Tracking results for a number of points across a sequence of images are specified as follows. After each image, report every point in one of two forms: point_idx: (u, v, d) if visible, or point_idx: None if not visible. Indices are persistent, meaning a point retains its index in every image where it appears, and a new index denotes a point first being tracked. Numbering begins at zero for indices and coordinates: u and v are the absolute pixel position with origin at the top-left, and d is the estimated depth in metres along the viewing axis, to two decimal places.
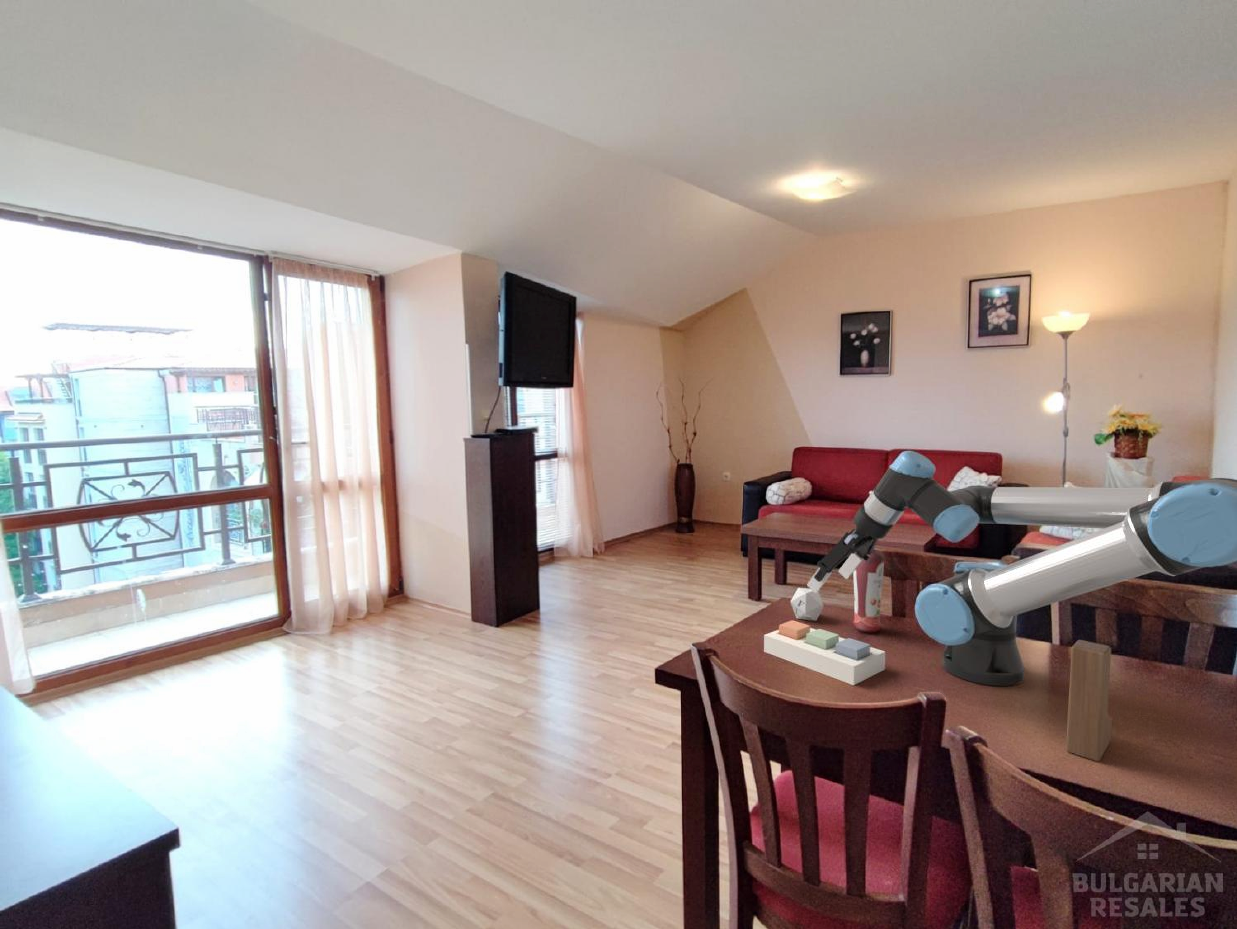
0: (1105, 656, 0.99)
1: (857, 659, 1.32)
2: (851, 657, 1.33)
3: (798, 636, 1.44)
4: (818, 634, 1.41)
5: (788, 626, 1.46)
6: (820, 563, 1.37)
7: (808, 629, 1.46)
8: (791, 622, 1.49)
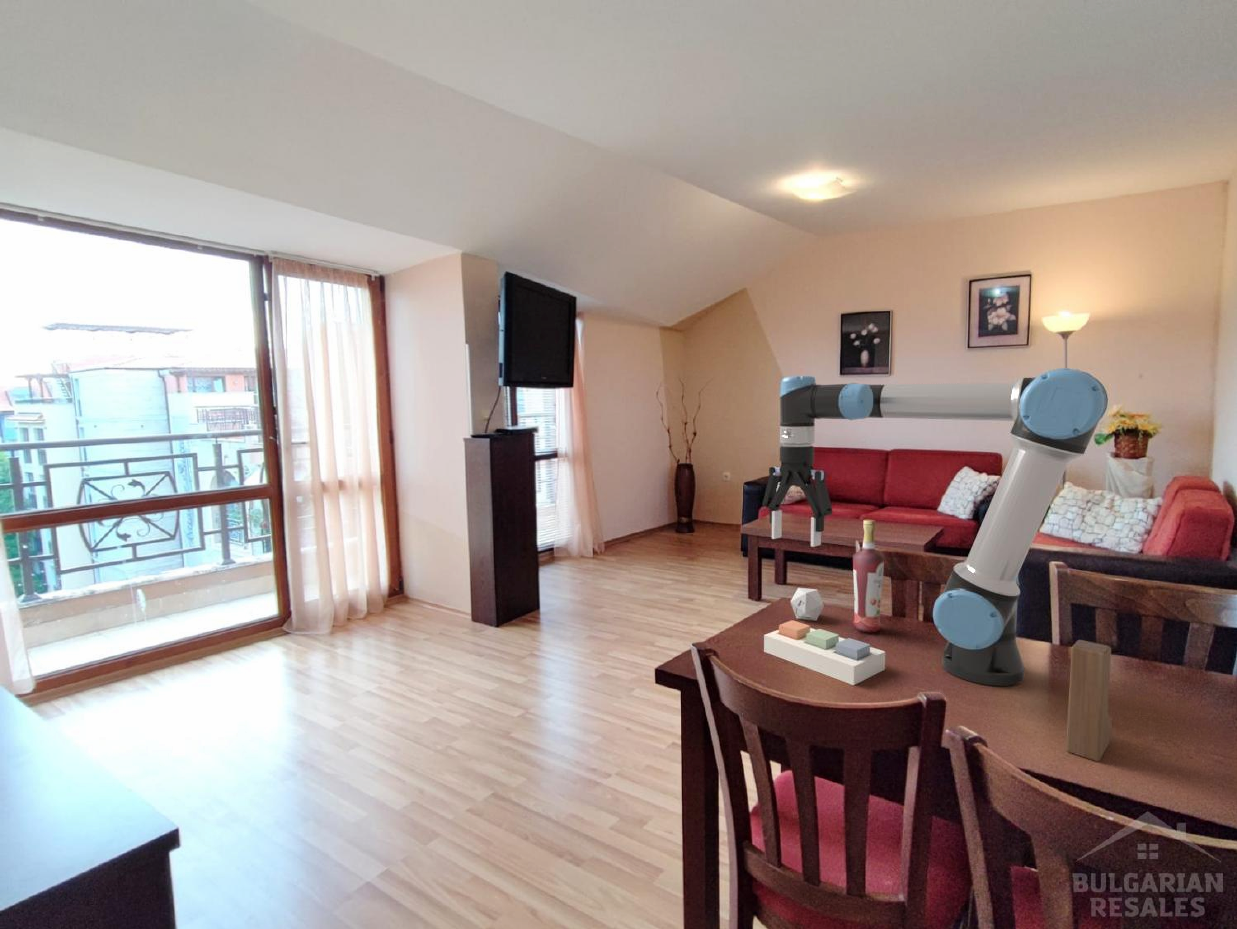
0: (1105, 656, 0.99)
1: (857, 659, 1.32)
2: (851, 657, 1.33)
3: (798, 636, 1.44)
4: (818, 634, 1.41)
5: (788, 626, 1.46)
6: (826, 511, 1.37)
7: (808, 629, 1.46)
8: (791, 622, 1.49)
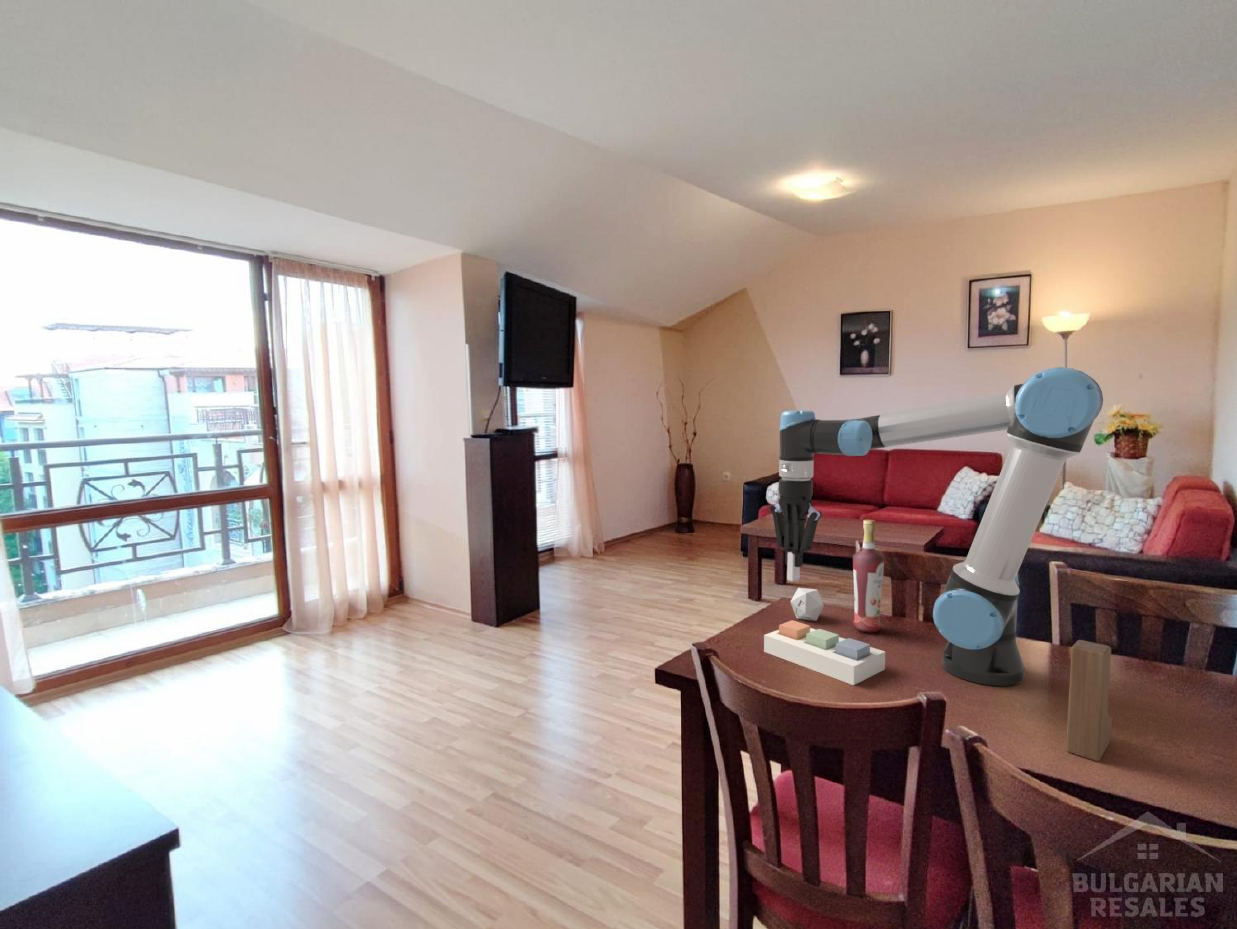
0: (1105, 656, 0.99)
1: (857, 659, 1.32)
2: (851, 657, 1.33)
3: (798, 636, 1.44)
4: (818, 634, 1.41)
5: (788, 626, 1.46)
6: (805, 549, 1.42)
7: (808, 629, 1.46)
8: (791, 622, 1.49)
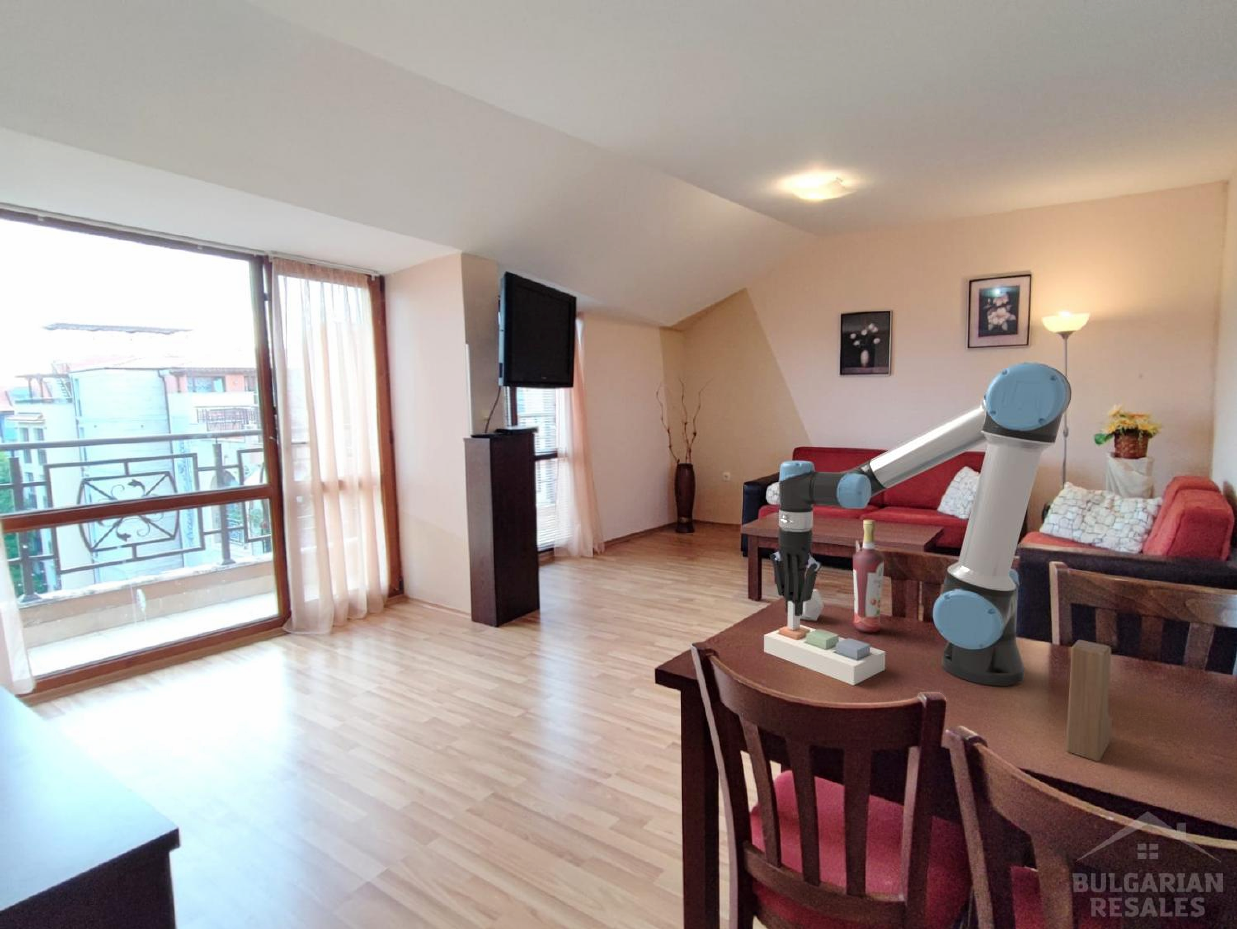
0: (1105, 656, 0.99)
1: (857, 659, 1.32)
2: (851, 657, 1.33)
3: (798, 639, 1.44)
4: (818, 634, 1.41)
5: (788, 630, 1.46)
6: (805, 599, 1.43)
7: None
8: None
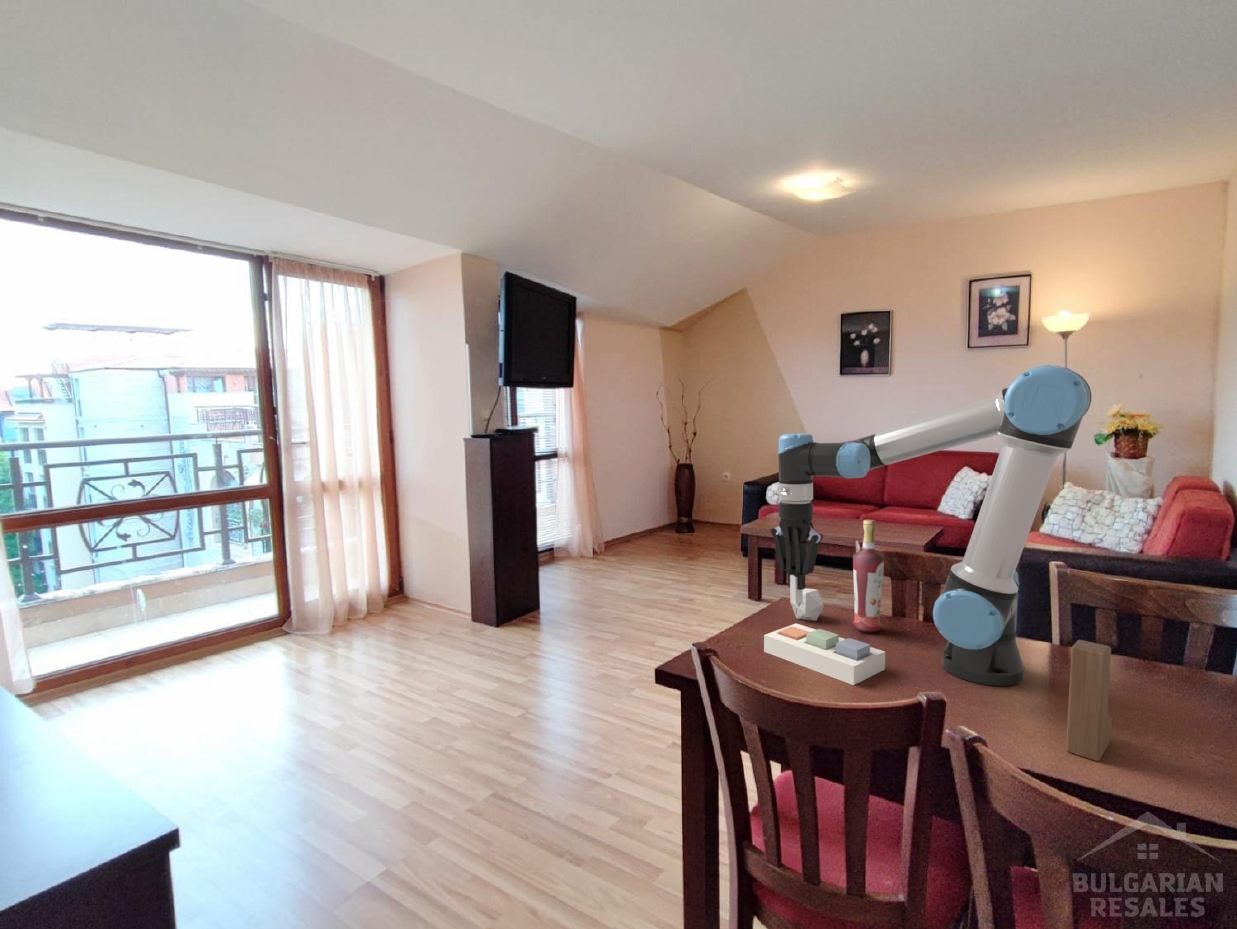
0: (1105, 656, 0.99)
1: (857, 659, 1.32)
2: (851, 657, 1.33)
3: None
4: (818, 634, 1.41)
5: (788, 632, 1.46)
6: (807, 572, 1.42)
7: None
8: (791, 628, 1.49)
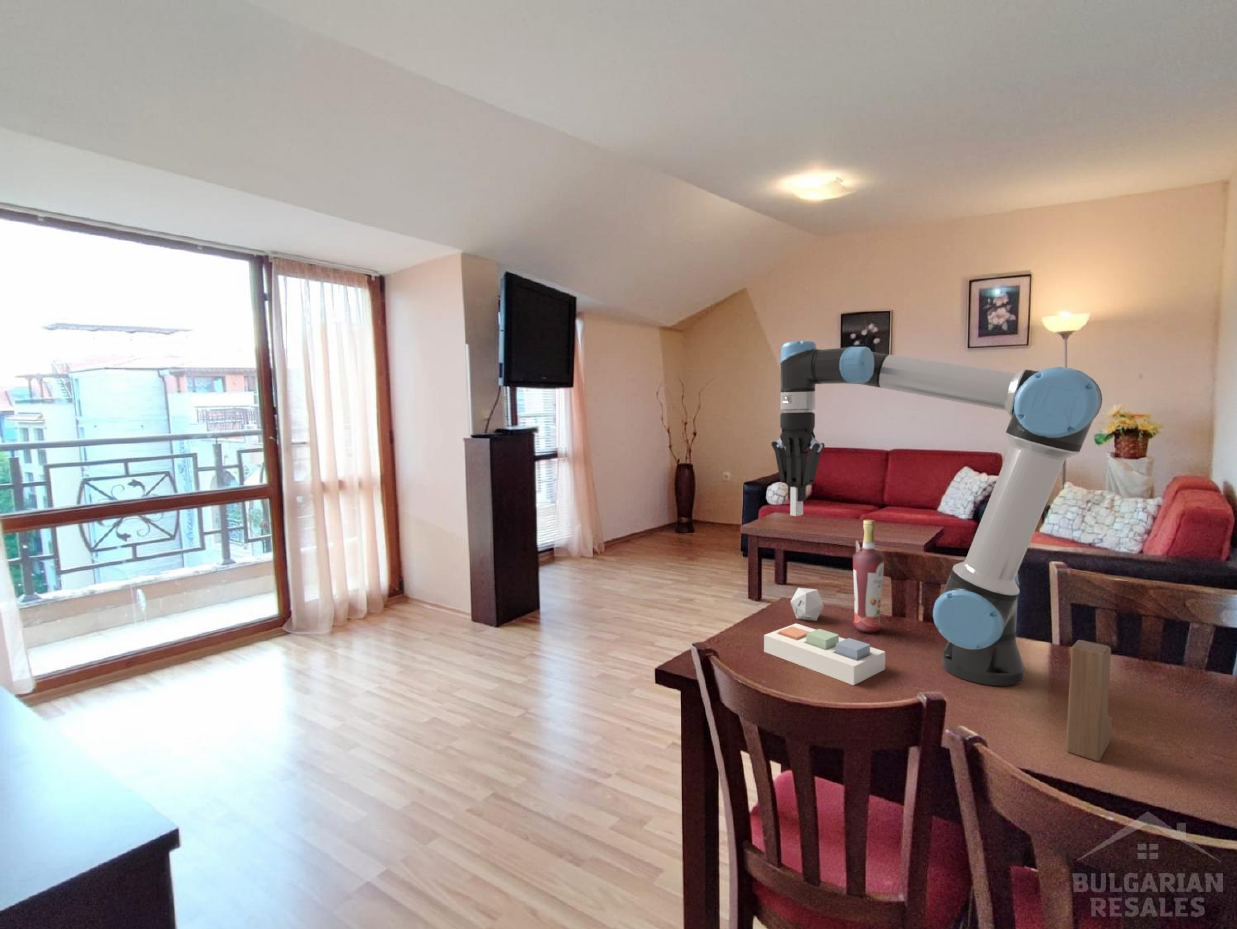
0: (1105, 656, 0.99)
1: (857, 659, 1.32)
2: (851, 657, 1.33)
3: None
4: (818, 634, 1.41)
5: (788, 632, 1.46)
6: (808, 482, 1.40)
7: None
8: (791, 628, 1.49)
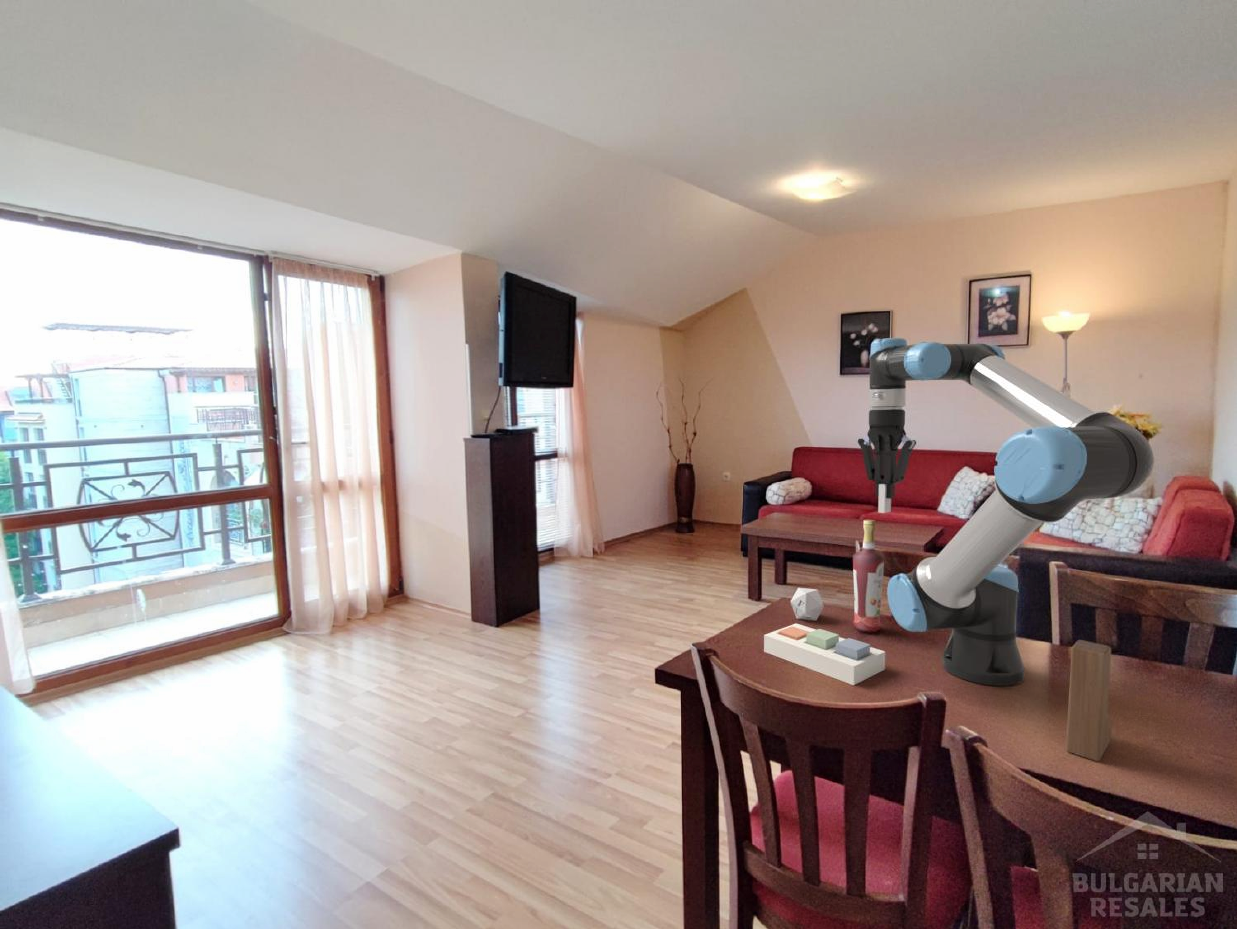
0: (1105, 656, 0.99)
1: (857, 659, 1.32)
2: (851, 657, 1.33)
3: None
4: (818, 634, 1.41)
5: (788, 632, 1.46)
6: (899, 479, 1.40)
7: None
8: (791, 628, 1.49)
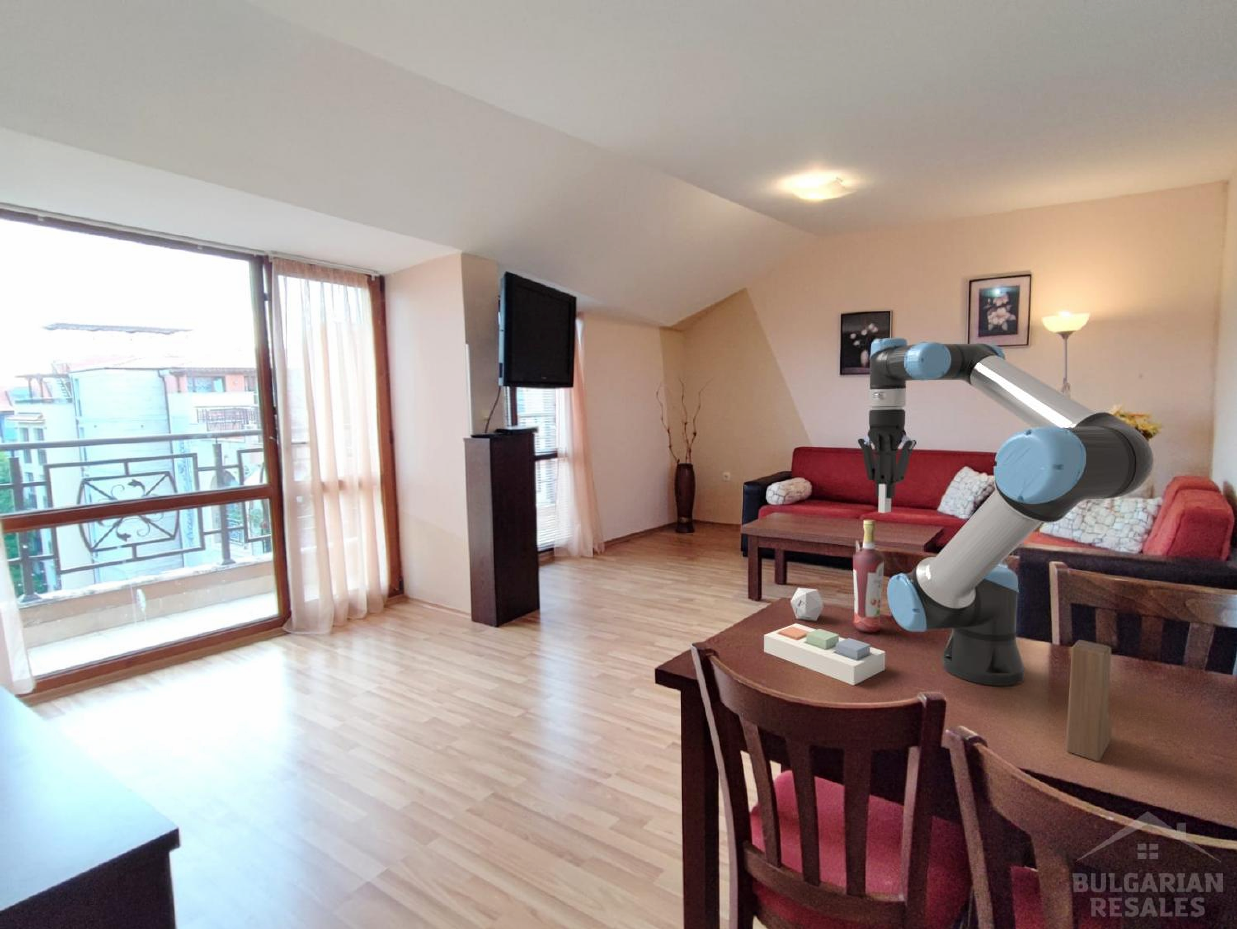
0: (1105, 656, 0.99)
1: (857, 659, 1.32)
2: (851, 657, 1.33)
3: None
4: (818, 634, 1.41)
5: (788, 632, 1.46)
6: (899, 479, 1.40)
7: None
8: (791, 628, 1.49)
